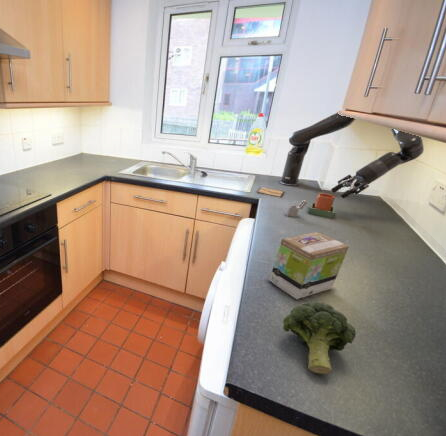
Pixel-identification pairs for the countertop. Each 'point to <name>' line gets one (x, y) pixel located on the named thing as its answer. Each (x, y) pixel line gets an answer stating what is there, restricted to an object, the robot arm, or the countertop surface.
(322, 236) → the tea box
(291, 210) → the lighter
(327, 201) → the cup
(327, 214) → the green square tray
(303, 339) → the vegetable
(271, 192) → the coaster
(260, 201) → the countertop surface
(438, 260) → the countertop surface
